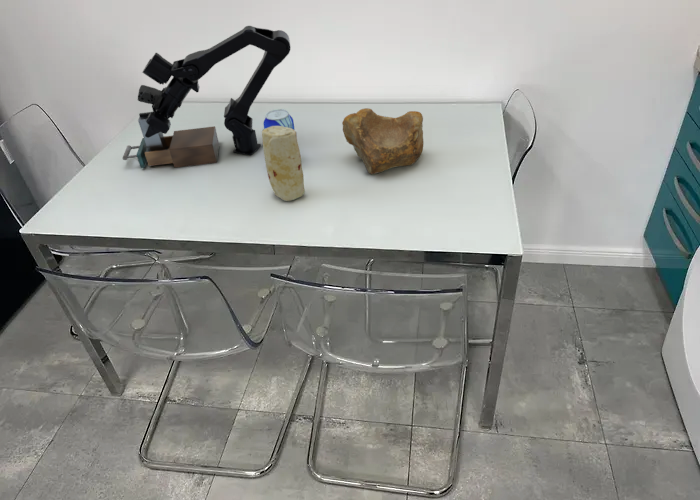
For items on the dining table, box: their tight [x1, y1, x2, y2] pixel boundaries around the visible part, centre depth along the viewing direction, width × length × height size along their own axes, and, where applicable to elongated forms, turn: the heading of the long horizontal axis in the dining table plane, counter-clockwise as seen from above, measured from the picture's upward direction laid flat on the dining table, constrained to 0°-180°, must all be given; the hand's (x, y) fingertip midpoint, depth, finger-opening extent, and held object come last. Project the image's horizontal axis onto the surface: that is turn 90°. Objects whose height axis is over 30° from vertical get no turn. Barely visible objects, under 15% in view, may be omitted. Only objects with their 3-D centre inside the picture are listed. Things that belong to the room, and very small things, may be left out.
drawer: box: [122, 135, 173, 169], centre depth 172 cm, size 17×11×5 cm, turn 97°
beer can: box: [262, 108, 296, 131], centre depth 162 cm, size 8×8×16 cm
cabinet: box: [169, 126, 220, 169], centre depth 173 cm, size 13×12×6 cm
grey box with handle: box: [137, 111, 169, 152], centre depth 168 cm, size 5×5×13 cm
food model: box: [261, 126, 306, 202], centre depth 147 cm, size 10×7×20 cm
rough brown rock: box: [341, 107, 424, 175], centre depth 158 cm, size 23×17×15 cm
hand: (147, 133), depth 168 cm, fingers closed on grey box with handle, 4 cm apart
